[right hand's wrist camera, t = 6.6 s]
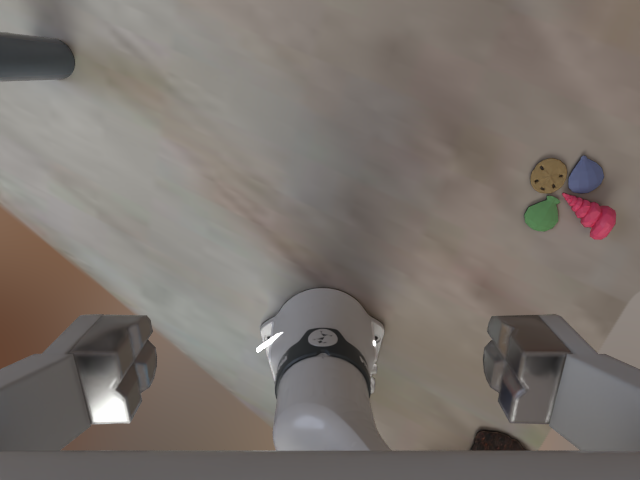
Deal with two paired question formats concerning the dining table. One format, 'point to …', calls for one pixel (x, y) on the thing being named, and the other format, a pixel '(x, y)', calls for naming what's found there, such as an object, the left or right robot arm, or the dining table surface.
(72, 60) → the blue grey cylinder
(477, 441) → the axe head
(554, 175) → the toy pieces
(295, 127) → the dining table surface
